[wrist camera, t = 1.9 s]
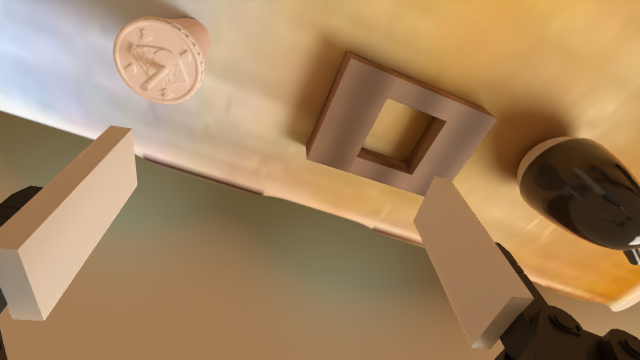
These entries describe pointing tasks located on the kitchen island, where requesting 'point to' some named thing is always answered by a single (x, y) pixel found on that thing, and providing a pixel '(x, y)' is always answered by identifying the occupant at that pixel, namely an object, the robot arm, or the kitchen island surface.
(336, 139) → the bottle holder
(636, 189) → the pump dispenser
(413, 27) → the kitchen island surface
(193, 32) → the smoothie
